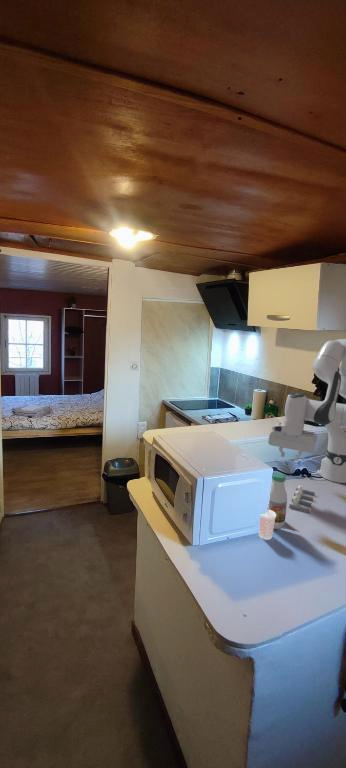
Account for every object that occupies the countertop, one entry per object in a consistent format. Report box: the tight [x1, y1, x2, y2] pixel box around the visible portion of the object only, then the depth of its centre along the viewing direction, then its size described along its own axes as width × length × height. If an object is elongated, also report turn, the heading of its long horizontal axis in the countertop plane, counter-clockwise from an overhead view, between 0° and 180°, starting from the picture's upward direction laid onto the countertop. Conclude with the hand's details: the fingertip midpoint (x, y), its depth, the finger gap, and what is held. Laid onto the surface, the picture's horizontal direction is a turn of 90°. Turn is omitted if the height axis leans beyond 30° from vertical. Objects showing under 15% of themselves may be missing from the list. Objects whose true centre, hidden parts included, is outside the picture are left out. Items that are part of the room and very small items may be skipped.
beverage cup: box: [258, 500, 276, 541], centre depth 131 cm, size 6×6×14 cm
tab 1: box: [297, 484, 304, 495], centre depth 164 cm, size 3×2×4 cm, turn 152°
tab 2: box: [294, 490, 302, 500], centre depth 158 cm, size 3×2×4 cm, turn 153°
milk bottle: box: [269, 472, 288, 530], centre depth 138 cm, size 8×8×20 cm
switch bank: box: [288, 487, 316, 514], centre depth 158 cm, size 24×9×2 cm, turn 153°
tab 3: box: [292, 495, 299, 506], centre depth 153 cm, size 3×2×4 cm, turn 152°
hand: (289, 458), depth 164 cm, fingers open, 5 cm apart
